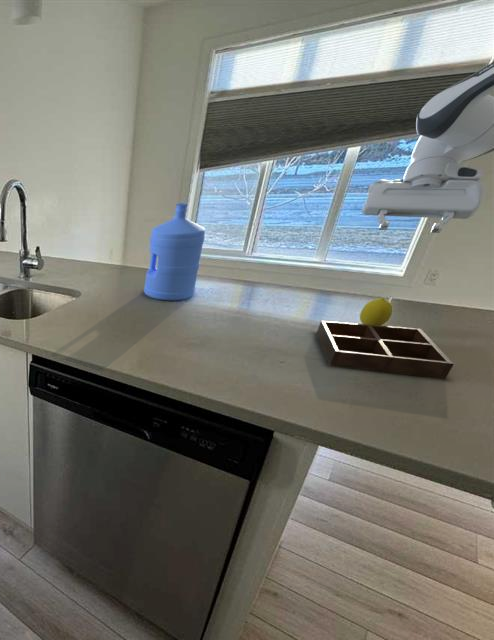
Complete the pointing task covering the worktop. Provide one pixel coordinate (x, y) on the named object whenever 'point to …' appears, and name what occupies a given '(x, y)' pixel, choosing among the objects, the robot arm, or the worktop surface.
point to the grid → (382, 349)
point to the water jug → (174, 257)
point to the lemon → (376, 312)
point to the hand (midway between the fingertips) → (408, 230)
